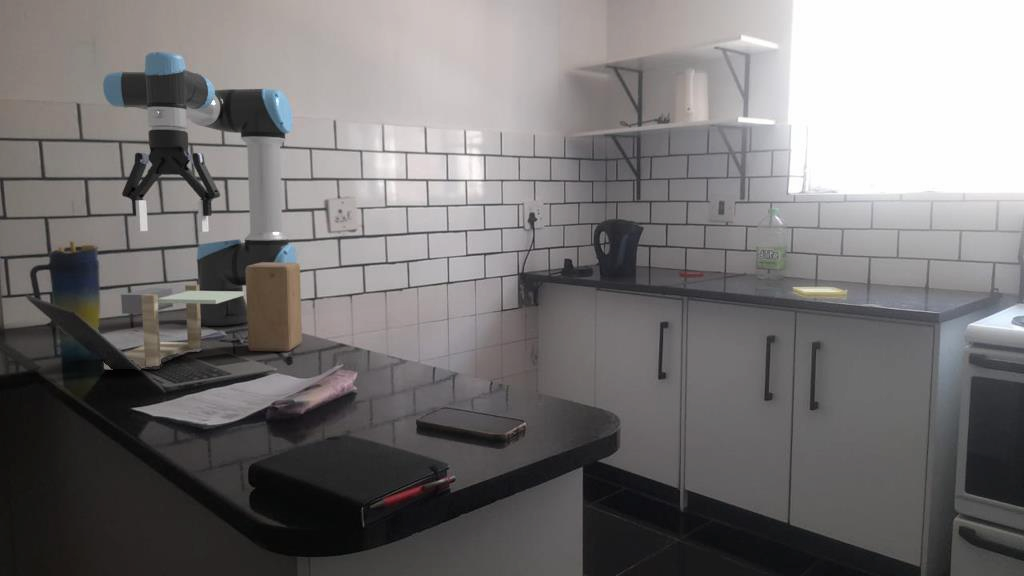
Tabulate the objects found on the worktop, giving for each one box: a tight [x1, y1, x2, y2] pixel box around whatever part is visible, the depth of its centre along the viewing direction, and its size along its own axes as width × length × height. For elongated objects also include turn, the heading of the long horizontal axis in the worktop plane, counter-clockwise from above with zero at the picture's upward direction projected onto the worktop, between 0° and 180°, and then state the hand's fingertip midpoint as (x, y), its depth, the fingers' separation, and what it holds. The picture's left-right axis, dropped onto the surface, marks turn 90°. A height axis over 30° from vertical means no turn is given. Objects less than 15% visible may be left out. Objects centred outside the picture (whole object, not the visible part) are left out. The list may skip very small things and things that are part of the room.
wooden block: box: [245, 262, 303, 353], centre depth 172 cm, size 10×10×20 cm
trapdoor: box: [120, 287, 246, 315], centre depth 157 cm, size 14×21×4 cm, turn 86°
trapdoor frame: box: [103, 283, 203, 370], centre depth 158 cm, size 19×11×16 cm, turn 176°
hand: (173, 231), depth 155 cm, fingers open, 13 cm apart
